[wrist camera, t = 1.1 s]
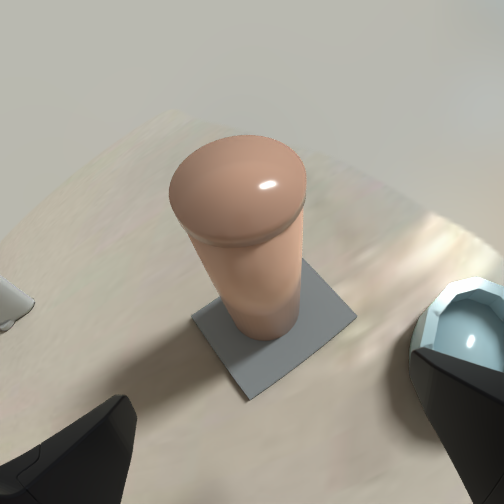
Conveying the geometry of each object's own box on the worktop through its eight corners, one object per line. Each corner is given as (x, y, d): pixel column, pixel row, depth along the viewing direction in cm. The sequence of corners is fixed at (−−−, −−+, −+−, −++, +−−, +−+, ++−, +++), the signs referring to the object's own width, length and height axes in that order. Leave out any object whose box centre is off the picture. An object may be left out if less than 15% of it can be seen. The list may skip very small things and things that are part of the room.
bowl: (462, 448, 16) (481, 449, 13) (381, 354, 21) (392, 345, 18) (529, 350, 18) (547, 341, 16) (459, 269, 23) (472, 253, 21)
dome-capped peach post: (257, 356, 22) (212, 264, 10) (216, 302, 24) (149, 177, 13) (315, 312, 23) (335, 183, 11) (271, 264, 25) (251, 121, 14)
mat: (250, 400, 20) (249, 399, 20) (192, 317, 24) (191, 315, 24) (356, 317, 23) (357, 316, 22) (291, 249, 26) (291, 246, 26)
